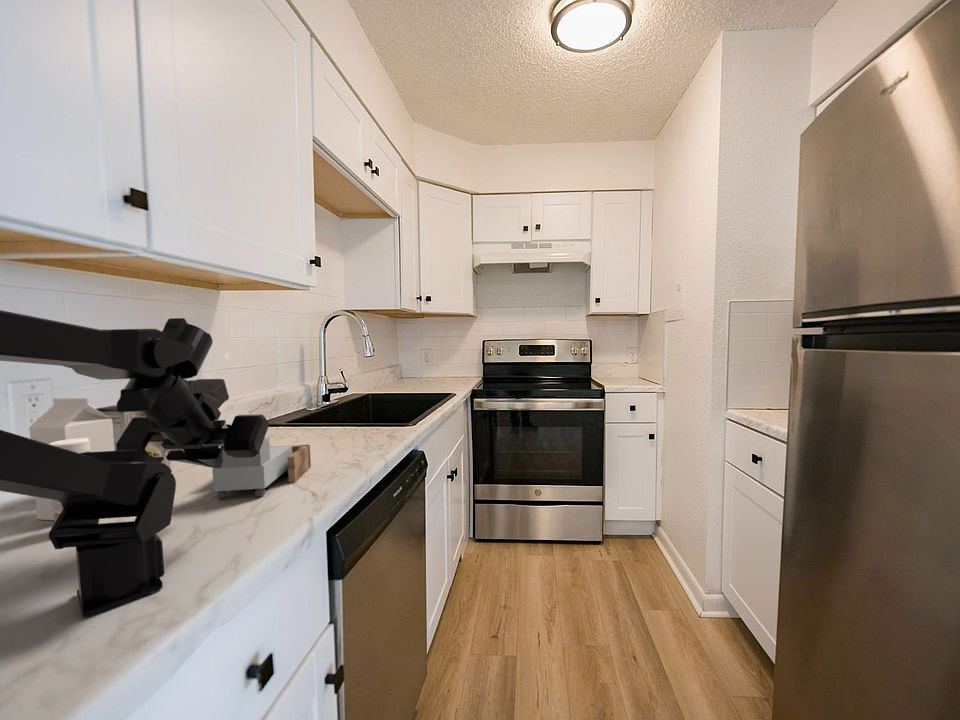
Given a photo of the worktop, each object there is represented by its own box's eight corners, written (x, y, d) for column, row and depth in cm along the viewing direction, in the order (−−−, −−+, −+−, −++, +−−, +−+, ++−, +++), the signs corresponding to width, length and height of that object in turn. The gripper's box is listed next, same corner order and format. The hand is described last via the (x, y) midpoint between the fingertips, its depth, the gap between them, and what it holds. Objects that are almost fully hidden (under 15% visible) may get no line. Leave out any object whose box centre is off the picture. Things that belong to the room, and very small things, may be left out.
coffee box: (145, 477, 87) (139, 400, 87) (172, 477, 86) (167, 400, 86) (100, 492, 78) (93, 407, 78) (129, 493, 77) (123, 407, 77)
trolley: (264, 497, 73) (261, 443, 72) (213, 501, 72) (209, 446, 71) (293, 472, 87) (291, 426, 87) (251, 474, 86) (248, 428, 86)
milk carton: (71, 522, 65) (61, 401, 64) (36, 520, 66) (26, 401, 65) (119, 504, 72) (111, 395, 71) (86, 503, 73) (78, 395, 72)
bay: (295, 482, 80) (293, 456, 80) (219, 487, 79) (217, 461, 79) (310, 467, 90) (309, 444, 90) (243, 471, 89) (242, 448, 88)
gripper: (262, 360, 61) (292, 422, 72) (129, 361, 60) (180, 424, 71) (235, 423, 54) (273, 481, 65) (81, 425, 52) (148, 484, 64)
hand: (219, 465), depth 66 cm, fingers closed
